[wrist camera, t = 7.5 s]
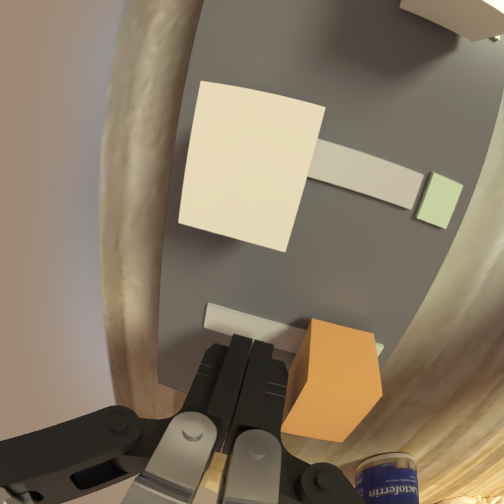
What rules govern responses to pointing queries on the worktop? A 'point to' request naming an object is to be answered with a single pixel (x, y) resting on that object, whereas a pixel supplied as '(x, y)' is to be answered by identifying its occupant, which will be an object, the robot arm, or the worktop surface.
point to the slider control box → (332, 174)
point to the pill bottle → (388, 479)
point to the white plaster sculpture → (473, 500)
